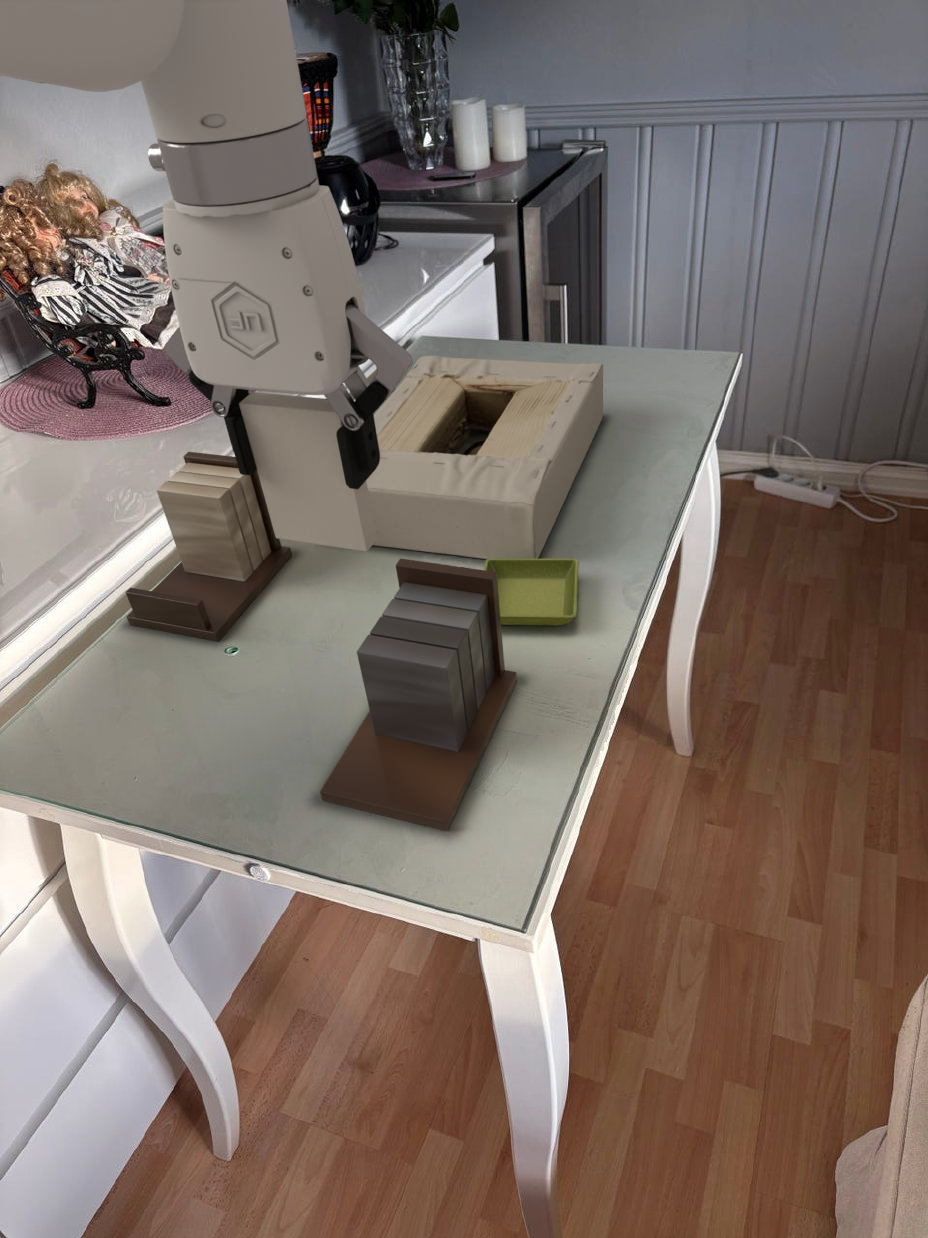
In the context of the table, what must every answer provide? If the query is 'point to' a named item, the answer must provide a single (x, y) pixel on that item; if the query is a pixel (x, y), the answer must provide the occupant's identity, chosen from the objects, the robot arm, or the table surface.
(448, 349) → the table surface
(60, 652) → the table surface
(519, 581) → the green tray
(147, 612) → the dark brown rack
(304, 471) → the cream book
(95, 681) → the table surface
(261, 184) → the robot arm
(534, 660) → the table surface
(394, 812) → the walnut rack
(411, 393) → the box
